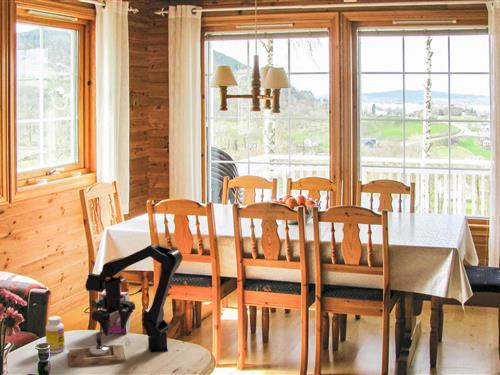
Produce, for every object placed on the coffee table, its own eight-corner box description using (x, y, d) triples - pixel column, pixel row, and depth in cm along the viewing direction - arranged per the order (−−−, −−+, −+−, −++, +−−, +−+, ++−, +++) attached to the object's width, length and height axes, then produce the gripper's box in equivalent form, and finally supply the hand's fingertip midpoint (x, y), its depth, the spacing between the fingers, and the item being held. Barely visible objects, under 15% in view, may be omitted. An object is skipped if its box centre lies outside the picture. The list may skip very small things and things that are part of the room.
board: (123, 348, 295) (122, 342, 295) (125, 362, 281) (125, 355, 280) (69, 352, 291) (69, 346, 291) (69, 367, 276) (68, 360, 276)
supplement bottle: (60, 354, 289) (58, 321, 287) (43, 353, 291) (42, 320, 289) (67, 348, 296) (66, 315, 294) (51, 347, 297) (50, 314, 295)
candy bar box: (99, 333, 312) (98, 294, 310) (103, 329, 317) (102, 290, 314) (126, 334, 310) (125, 295, 308) (130, 330, 315) (129, 291, 313)
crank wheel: (109, 356, 282) (109, 340, 281) (90, 358, 281) (89, 342, 280) (108, 346, 292) (107, 331, 292) (89, 348, 291) (88, 333, 290)
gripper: (114, 284, 308) (115, 322, 310) (80, 295, 292) (81, 335, 295) (135, 288, 302) (136, 326, 304) (102, 300, 286) (103, 340, 289)
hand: (114, 332), depth 298 cm, fingers open, 9 cm apart
